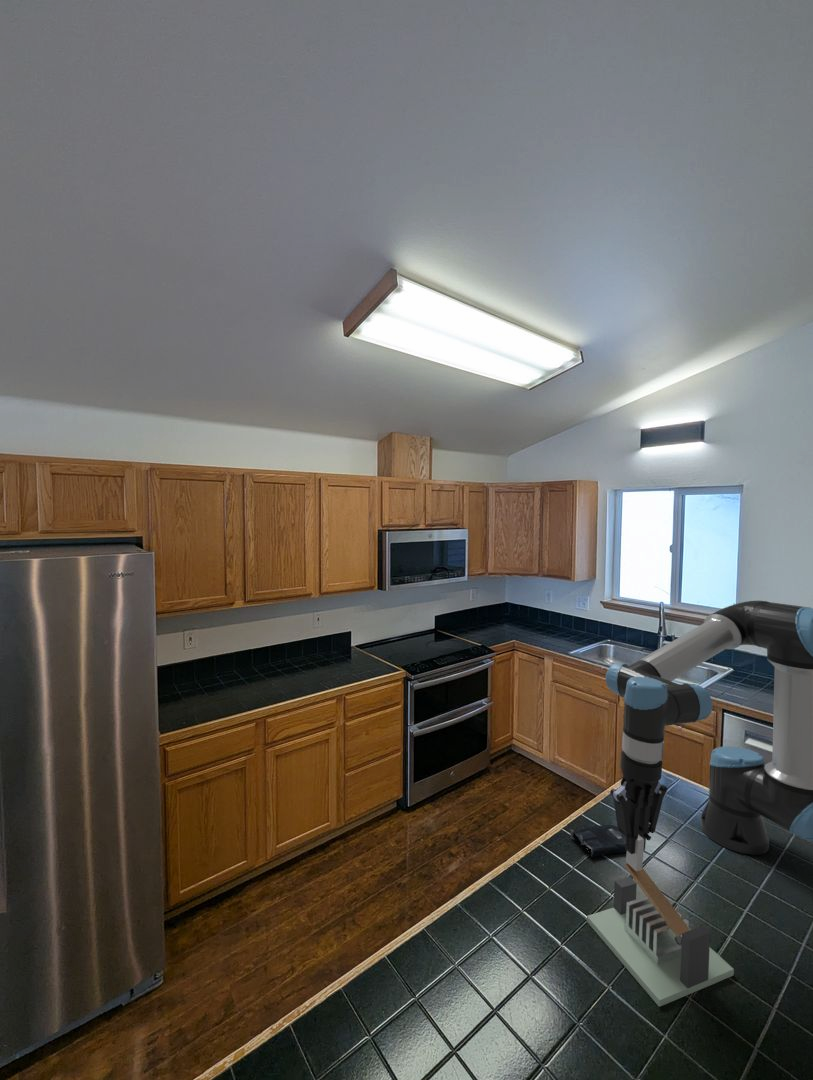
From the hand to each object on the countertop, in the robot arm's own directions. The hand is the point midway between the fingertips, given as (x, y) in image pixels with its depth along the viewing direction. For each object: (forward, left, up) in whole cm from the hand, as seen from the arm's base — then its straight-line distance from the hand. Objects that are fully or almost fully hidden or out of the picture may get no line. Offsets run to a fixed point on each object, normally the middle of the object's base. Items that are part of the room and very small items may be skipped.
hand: (633, 865), depth 96 cm
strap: (0, +5, -3) cm, 6 cm away
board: (-1, +6, -13) cm, 14 cm away
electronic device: (-13, -21, -13) cm, 28 cm away
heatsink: (0, +6, -11) cm, 13 cm away
